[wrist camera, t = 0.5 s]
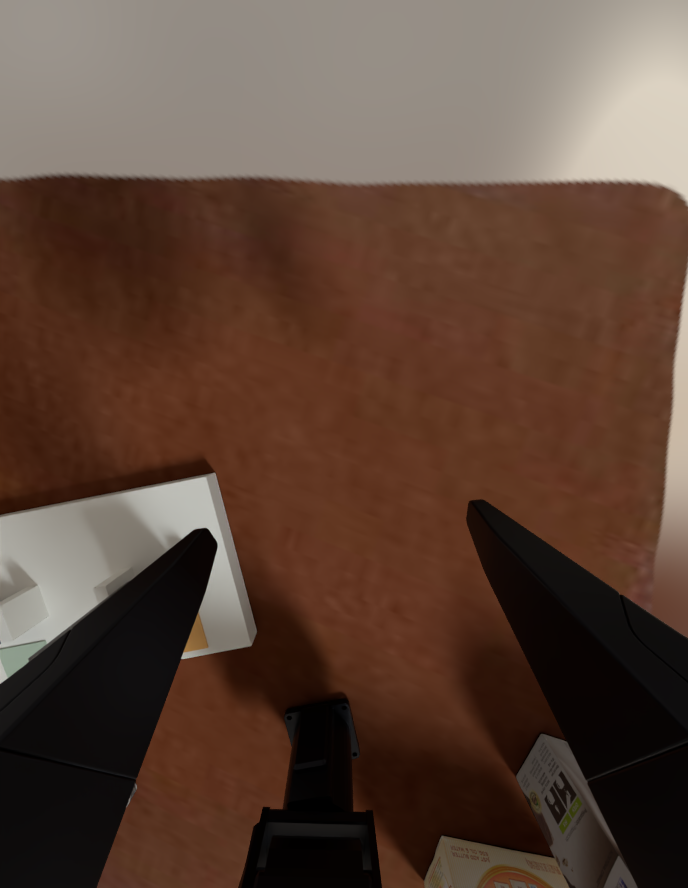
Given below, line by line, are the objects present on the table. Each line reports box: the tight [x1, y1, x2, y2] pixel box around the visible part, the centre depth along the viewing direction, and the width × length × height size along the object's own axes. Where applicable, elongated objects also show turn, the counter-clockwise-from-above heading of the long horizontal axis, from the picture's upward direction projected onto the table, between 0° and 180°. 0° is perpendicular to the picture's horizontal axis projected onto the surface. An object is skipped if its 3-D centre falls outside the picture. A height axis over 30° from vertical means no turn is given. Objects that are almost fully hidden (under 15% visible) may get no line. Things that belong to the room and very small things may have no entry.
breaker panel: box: [0, 473, 257, 684], centre depth 18 cm, size 16×24×9 cm, turn 101°
